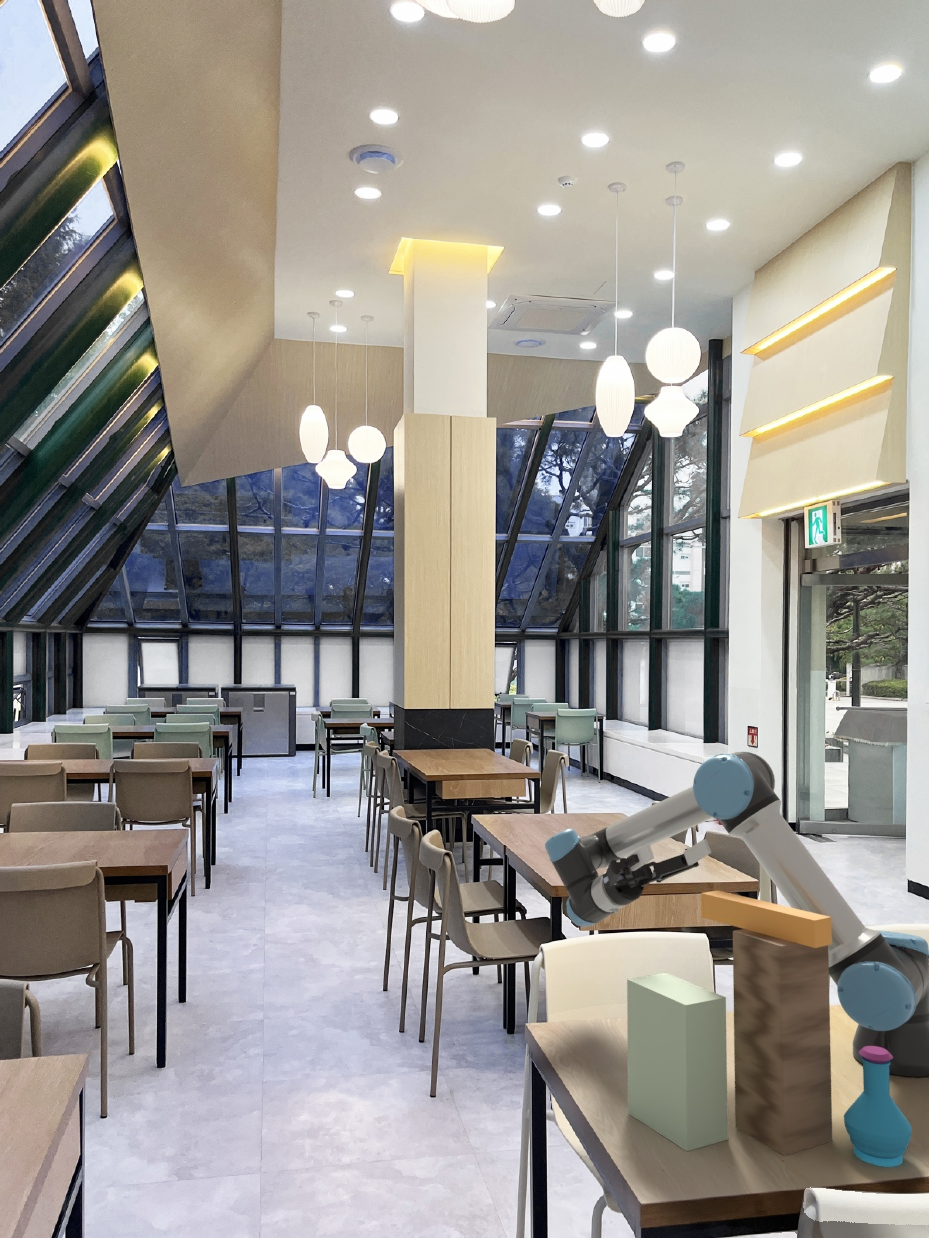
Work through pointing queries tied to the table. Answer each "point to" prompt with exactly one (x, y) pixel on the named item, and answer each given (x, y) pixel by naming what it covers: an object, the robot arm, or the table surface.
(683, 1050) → the pale green rectangular block
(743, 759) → the robot arm
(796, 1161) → the table surface
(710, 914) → the bar
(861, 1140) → the perfume bottle
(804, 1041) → the post
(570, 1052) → the table surface
